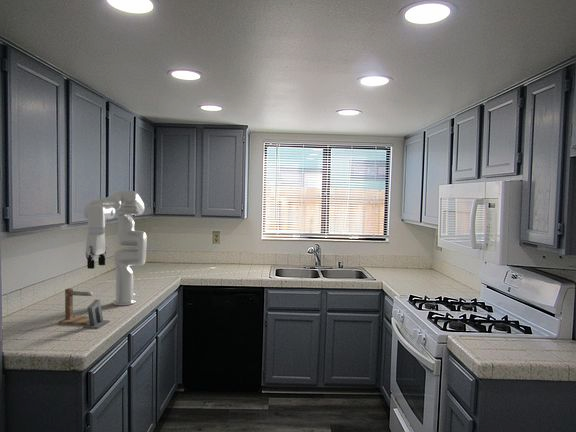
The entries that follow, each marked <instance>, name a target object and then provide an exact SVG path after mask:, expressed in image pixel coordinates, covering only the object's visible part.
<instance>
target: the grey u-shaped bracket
mask: <svg viewBox="0 0 576 432" xmlns="http://www.w3.org/2000/svg"><path fill="white" fill-rule="evenodd" d="M86 308H87V314H88V316H89V321H90V326H95V325H96V324H97V322H102V321H103V320H104V318H103V310H102V305H101V299H94V301H92V302H91V303H90V304H89V305H88V306H87V307H86Z"/></svg>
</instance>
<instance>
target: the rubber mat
mask: <svg viewBox="0 0 576 432" xmlns="http://www.w3.org/2000/svg"><path fill="white" fill-rule="evenodd" d="M108 323H110V320H107V319H106V320H105V319H103V321H102V322H97V324H96V325H95V326H90V323H88V324H87V325H82V329H100V328H102V327H103V326H105V325H107V324H108Z"/></svg>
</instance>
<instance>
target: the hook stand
mask: <svg viewBox="0 0 576 432" xmlns="http://www.w3.org/2000/svg"><path fill="white" fill-rule="evenodd" d="M73 296H81V297H92V296H93V292H92V291H78V290H77V291H74V288H66V289H65V290H64V297H65V298H64V302H65V303H64V309H65V310H64V314H65V315H64V317H65V318H63V319H61V320H59V321H58V325H73V326H74V325H75V326H76V325H77V326H85V325H87V324H88V323H90V321H89V315H88V316H87V315H86V316H85V315H74V313H73V312H74V311H73V310H74V309H73V307H74V305H73V303H74V299H73Z"/></svg>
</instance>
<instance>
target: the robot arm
mask: <svg viewBox="0 0 576 432" xmlns="http://www.w3.org/2000/svg"><path fill="white" fill-rule="evenodd" d="M144 212H145V203H144V201H143V200H142V198H141V196H140V194H139V193H138V192H137V191H134V190H116V191H114V192H112V194H110V195H109V196H107V197H103V198H99V199H94V200H92V201H89V203H87V204H86V205H85V207H84V209H83V216H84V218H85V219H86V220H87V236H86V243H85V257H86V261H87V263H86V265H87V269H91V270H94V269H95V267H96V266H95V260H94V259H95V257H96V256H98V262H97V263H98V265H99V266H105V265H106V256H107V255H106V254H107V249H108V247H107V246H106V221H110V220H113V219H114V217H115V216H116V217H117V219H118V220H117V221H118V233H117V234H118V236H117V237H118V238H117V242H118V245H119V246H120V247H123V248H122V249H121V248H120V249H118V250H116V251H115V252H114V254H113V261H114V266H115V300H113V301H112V304H113V305H114V306H122V307H123V306H131V305H134V304H136V303H137V299H134V297H136V293H135V292H134V272H133V269H132V268H131V266H137V267H138V266H141V267H142V266H144V265H145V263H146V261H147V248H148V247H147V246H148V236H147V234H146V232H145V231H143V230H135V224H136V223H135V220H134V219H133V217H132V216H131V215H133V216H140V215H142V214H144ZM125 247H127V248H125ZM136 248H137V249H136Z"/></svg>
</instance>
